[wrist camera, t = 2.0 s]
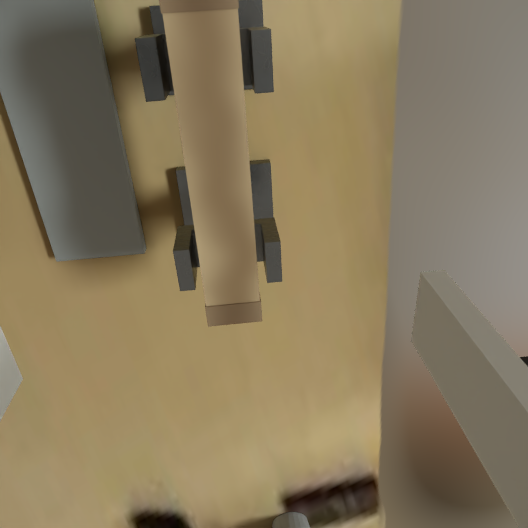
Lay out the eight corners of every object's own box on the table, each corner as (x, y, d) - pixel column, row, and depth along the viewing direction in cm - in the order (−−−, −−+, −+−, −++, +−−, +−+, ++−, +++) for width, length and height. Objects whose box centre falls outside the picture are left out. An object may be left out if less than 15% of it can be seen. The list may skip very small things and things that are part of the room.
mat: (-26, -7, 31) (-33, -8, 30) (90, -15, 32) (86, -16, 31) (59, 256, 42) (56, 261, 41) (146, 248, 42) (144, 253, 41)
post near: (165, 93, 36) (140, 131, 24) (151, 6, 33) (115, 4, 22) (265, 85, 36) (285, 119, 25) (260, -1, 33) (281, -7, 22)
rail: (209, 296, 34) (208, 326, 30) (163, -22, 24) (155, -27, 20) (258, 291, 34) (262, 321, 31) (233, -27, 24) (235, -32, 21)
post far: (186, 230, 42) (174, 310, 30) (176, 167, 39) (159, 230, 27) (272, 222, 42) (291, 299, 31) (269, 159, 39) (288, 219, 28)
